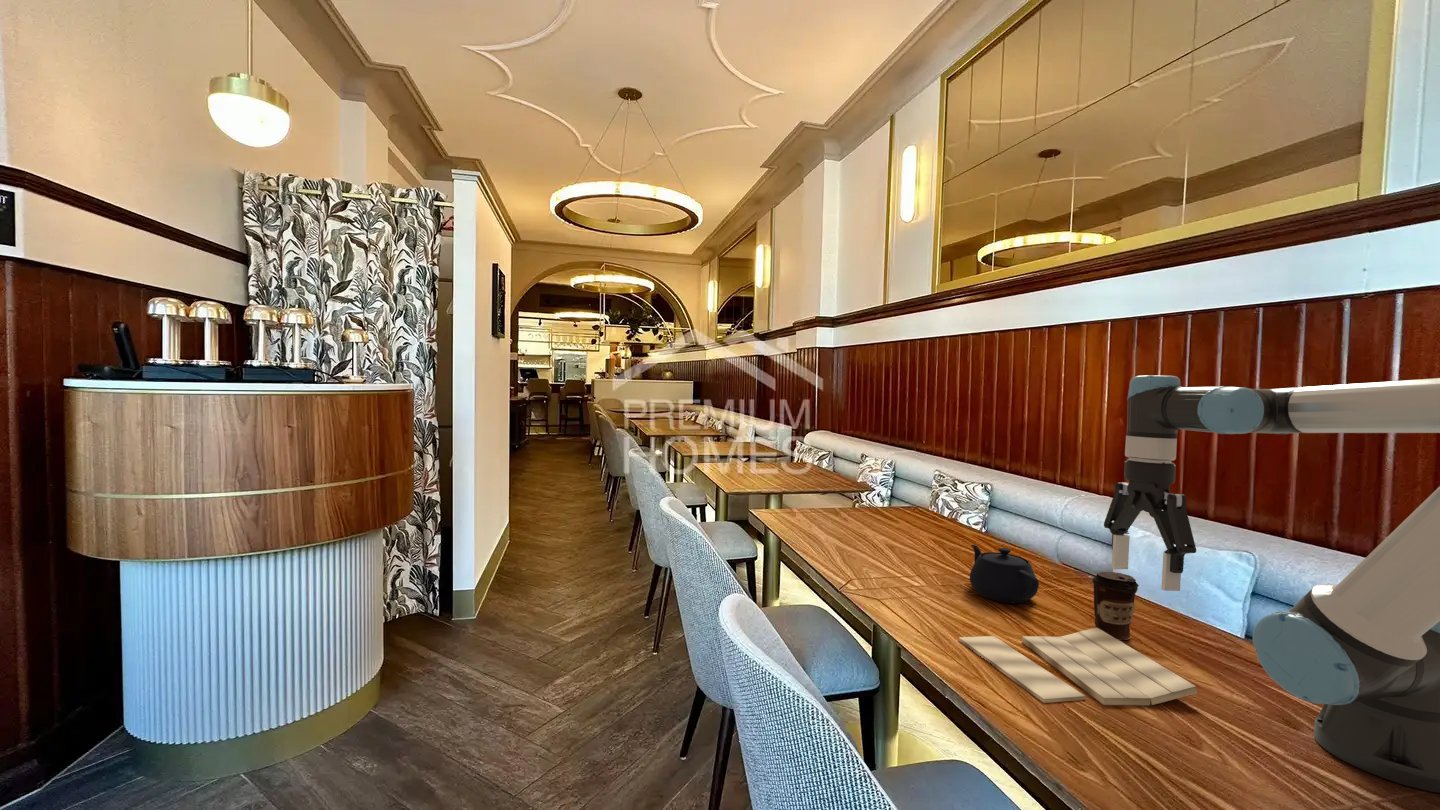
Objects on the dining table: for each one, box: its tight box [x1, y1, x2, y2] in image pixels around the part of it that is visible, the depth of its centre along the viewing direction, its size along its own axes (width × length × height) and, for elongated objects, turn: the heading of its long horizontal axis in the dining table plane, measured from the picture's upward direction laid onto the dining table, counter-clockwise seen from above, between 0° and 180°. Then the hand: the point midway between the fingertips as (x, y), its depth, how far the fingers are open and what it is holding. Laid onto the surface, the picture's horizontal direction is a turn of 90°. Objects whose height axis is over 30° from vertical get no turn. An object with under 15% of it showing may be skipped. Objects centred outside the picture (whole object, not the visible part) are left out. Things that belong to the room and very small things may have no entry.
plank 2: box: [1060, 627, 1198, 706], centre depth 109 cm, size 24×8×1 cm, turn 3°
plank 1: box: [958, 635, 1086, 704], centre depth 110 cm, size 24×8×1 cm, turn 11°
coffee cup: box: [1091, 571, 1139, 641], centre depth 126 cm, size 9×8×13 cm
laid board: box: [1021, 635, 1151, 706], centre depth 109 cm, size 24×8×1 cm, turn 3°
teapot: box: [969, 544, 1040, 604], centre depth 149 cm, size 25×16×12 cm, turn 11°
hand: (1143, 578), depth 107 cm, fingers open, 11 cm apart
